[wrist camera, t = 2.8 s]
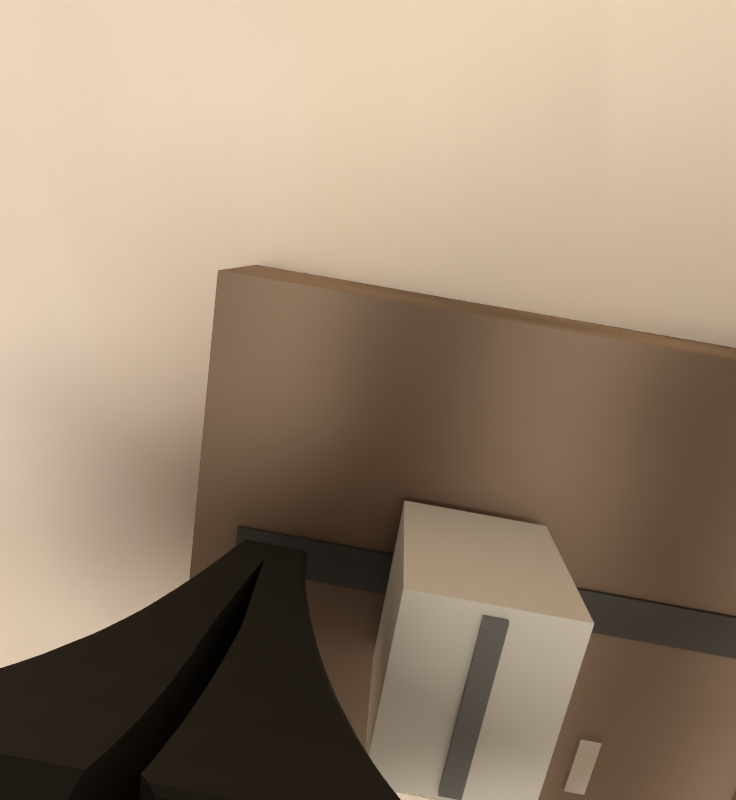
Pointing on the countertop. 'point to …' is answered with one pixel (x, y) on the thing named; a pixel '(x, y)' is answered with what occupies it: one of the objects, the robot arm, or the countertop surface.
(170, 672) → the robot arm
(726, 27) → the countertop surface
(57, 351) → the countertop surface
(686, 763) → the fader console
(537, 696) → the fader tab
